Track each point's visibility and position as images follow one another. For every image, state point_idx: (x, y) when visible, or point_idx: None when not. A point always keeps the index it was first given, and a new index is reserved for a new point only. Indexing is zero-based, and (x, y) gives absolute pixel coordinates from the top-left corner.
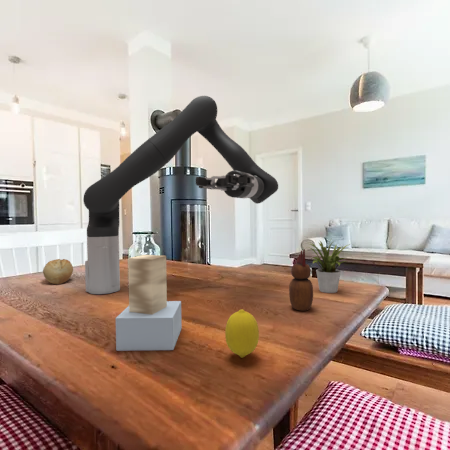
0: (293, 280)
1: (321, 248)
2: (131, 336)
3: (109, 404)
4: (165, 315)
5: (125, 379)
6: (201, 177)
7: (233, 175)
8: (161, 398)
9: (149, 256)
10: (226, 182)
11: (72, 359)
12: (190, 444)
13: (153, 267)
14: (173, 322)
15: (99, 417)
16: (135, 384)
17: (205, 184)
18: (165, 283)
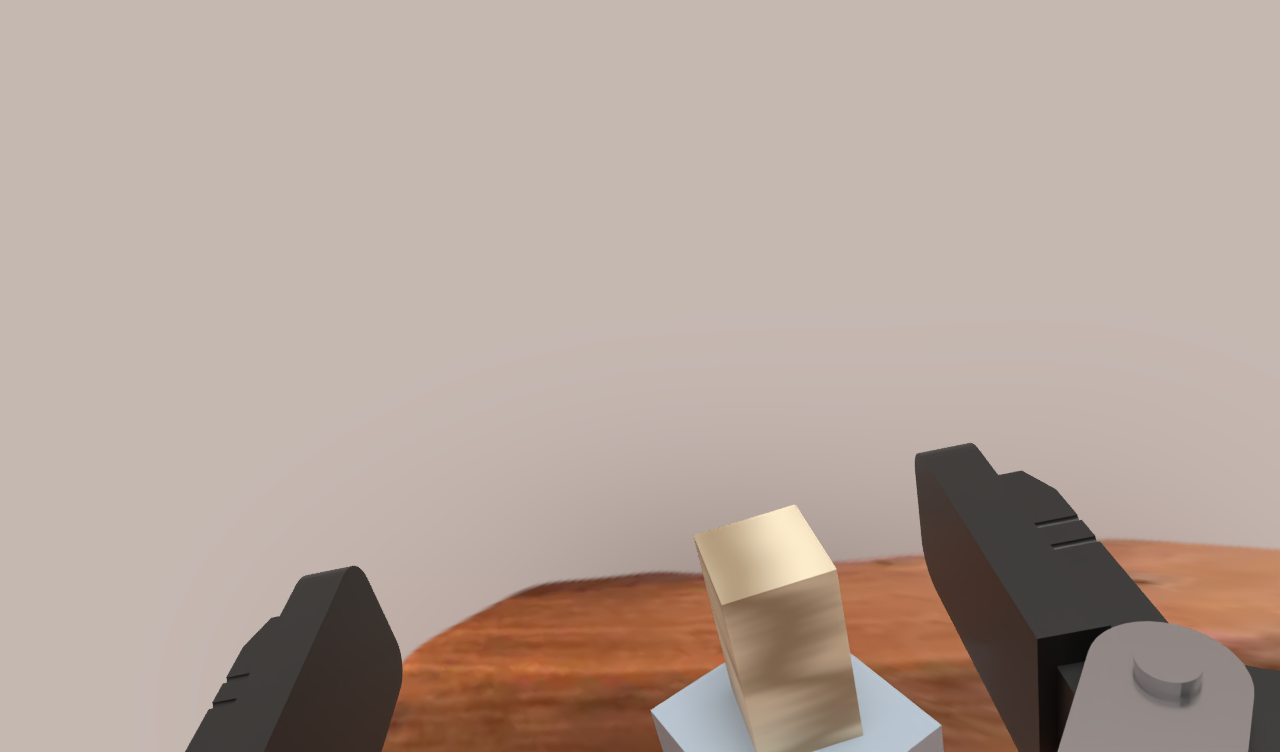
0: None
1: None
2: None
3: (625, 598)
4: (686, 708)
5: (665, 642)
6: (951, 511)
7: (235, 717)
8: (554, 652)
9: (765, 559)
10: (393, 661)
11: (854, 608)
12: (455, 625)
13: (703, 569)
14: (661, 732)
15: (612, 580)
16: (632, 645)
17: (1025, 734)
18: (741, 691)
